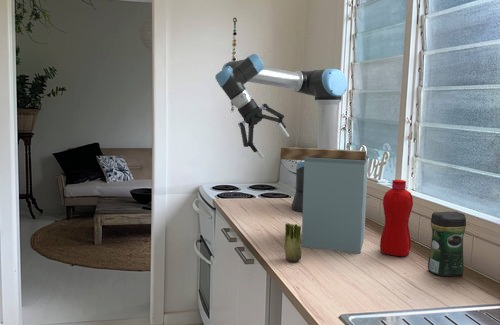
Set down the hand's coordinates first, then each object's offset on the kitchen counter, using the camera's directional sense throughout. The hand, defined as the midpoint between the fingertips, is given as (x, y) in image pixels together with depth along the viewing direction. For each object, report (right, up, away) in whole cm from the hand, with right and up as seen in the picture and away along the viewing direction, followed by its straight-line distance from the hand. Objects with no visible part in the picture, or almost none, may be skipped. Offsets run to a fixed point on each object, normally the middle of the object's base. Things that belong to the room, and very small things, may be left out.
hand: (275, 146), depth 187 cm
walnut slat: (+15, -6, -25) cm, 30 cm away
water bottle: (+39, -37, -28) cm, 61 cm away
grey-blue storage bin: (+20, -35, -19) cm, 45 cm away
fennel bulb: (+4, -38, -39) cm, 54 cm away
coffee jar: (+48, -40, -47) cm, 78 cm away
